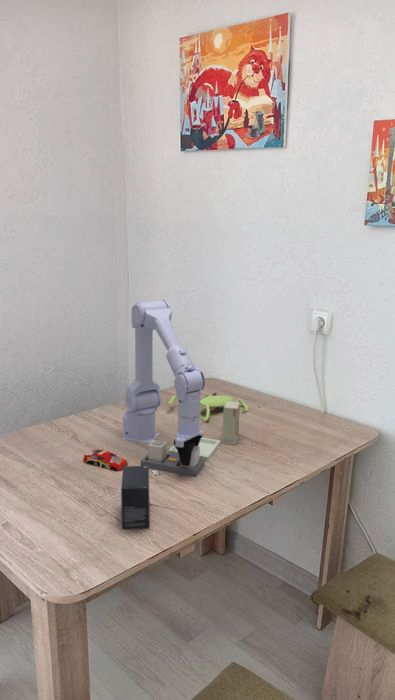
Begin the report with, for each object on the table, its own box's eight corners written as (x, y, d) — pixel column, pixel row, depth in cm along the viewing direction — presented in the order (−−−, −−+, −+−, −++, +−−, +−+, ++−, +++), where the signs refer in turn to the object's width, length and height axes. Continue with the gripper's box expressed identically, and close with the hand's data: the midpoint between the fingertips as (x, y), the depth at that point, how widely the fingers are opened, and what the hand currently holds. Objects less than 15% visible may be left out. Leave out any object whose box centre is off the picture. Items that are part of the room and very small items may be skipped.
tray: (168, 456, 162) (168, 450, 161) (183, 439, 173) (183, 434, 172) (207, 463, 158) (207, 457, 157) (220, 446, 169) (220, 440, 168)
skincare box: (236, 447, 168) (237, 409, 165) (221, 445, 169) (223, 407, 166) (238, 438, 175) (240, 401, 171) (225, 437, 175) (226, 400, 172)
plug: (180, 470, 152) (180, 448, 150) (185, 464, 155) (186, 442, 154) (194, 473, 150) (194, 451, 149) (199, 466, 154) (199, 445, 152)
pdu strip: (140, 468, 154) (140, 459, 153) (151, 458, 160) (151, 449, 160) (195, 479, 149) (196, 469, 148) (204, 467, 155) (204, 458, 154)
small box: (122, 504, 136) (122, 465, 133) (149, 504, 136) (149, 464, 134) (120, 529, 126) (120, 487, 123) (150, 528, 126) (149, 486, 123)
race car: (131, 468, 155) (131, 454, 154) (120, 476, 150) (120, 462, 149) (93, 457, 161) (92, 444, 160) (80, 464, 156) (80, 451, 155)
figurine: (161, 411, 197) (161, 396, 195) (221, 396, 212) (221, 382, 211) (192, 428, 183) (192, 412, 181) (253, 411, 198) (254, 396, 196)
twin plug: (148, 465, 155) (148, 443, 153) (154, 459, 158) (154, 438, 157) (161, 467, 153) (161, 446, 152) (167, 461, 157) (167, 440, 155)
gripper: (193, 426, 141) (193, 475, 144) (211, 407, 154) (210, 452, 158) (167, 422, 143) (167, 470, 147) (187, 403, 156) (187, 448, 160)
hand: (188, 461), depth 152 cm, fingers closed on plug, 4 cm apart
